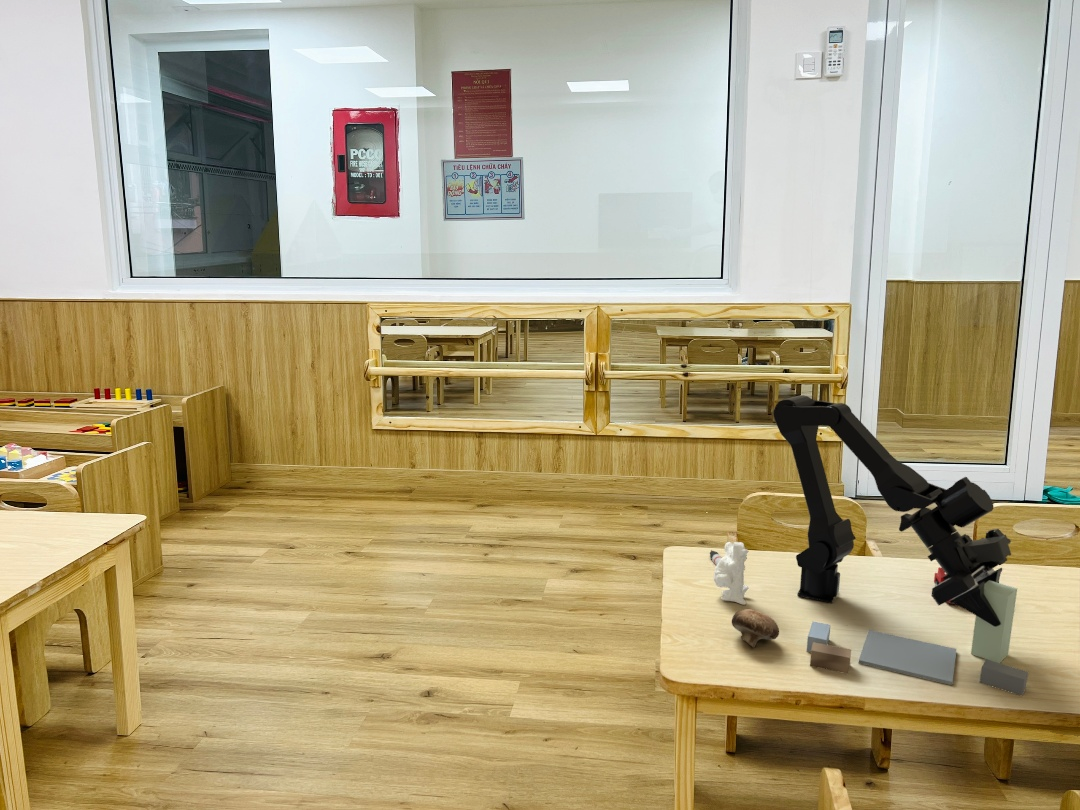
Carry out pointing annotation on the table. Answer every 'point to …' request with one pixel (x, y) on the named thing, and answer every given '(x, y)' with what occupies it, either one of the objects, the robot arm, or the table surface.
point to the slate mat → (909, 657)
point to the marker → (715, 557)
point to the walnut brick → (830, 657)
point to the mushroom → (755, 626)
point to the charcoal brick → (1003, 677)
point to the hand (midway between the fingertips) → (1003, 621)
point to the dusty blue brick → (818, 634)
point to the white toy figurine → (732, 572)
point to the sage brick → (997, 639)
